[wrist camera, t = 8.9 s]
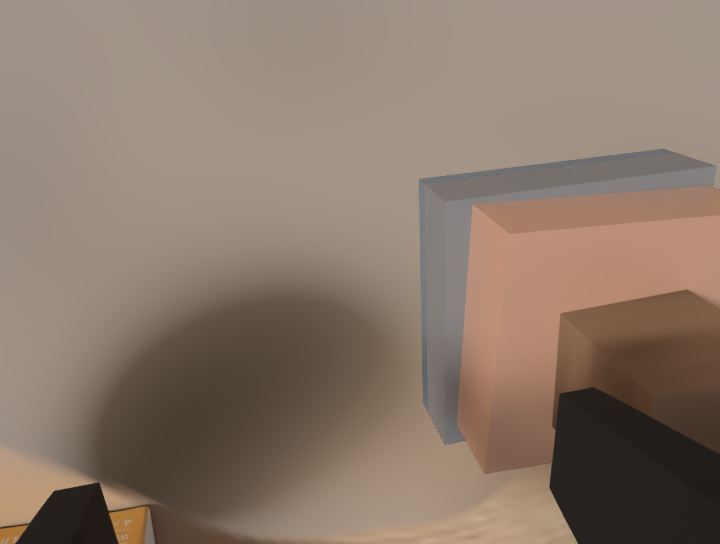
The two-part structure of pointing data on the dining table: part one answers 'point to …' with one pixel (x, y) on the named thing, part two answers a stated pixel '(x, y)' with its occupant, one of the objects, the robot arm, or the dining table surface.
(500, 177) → the slate slab
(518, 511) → the dining table surface
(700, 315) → the walnut cube
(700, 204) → the terracotta tile
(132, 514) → the small box
